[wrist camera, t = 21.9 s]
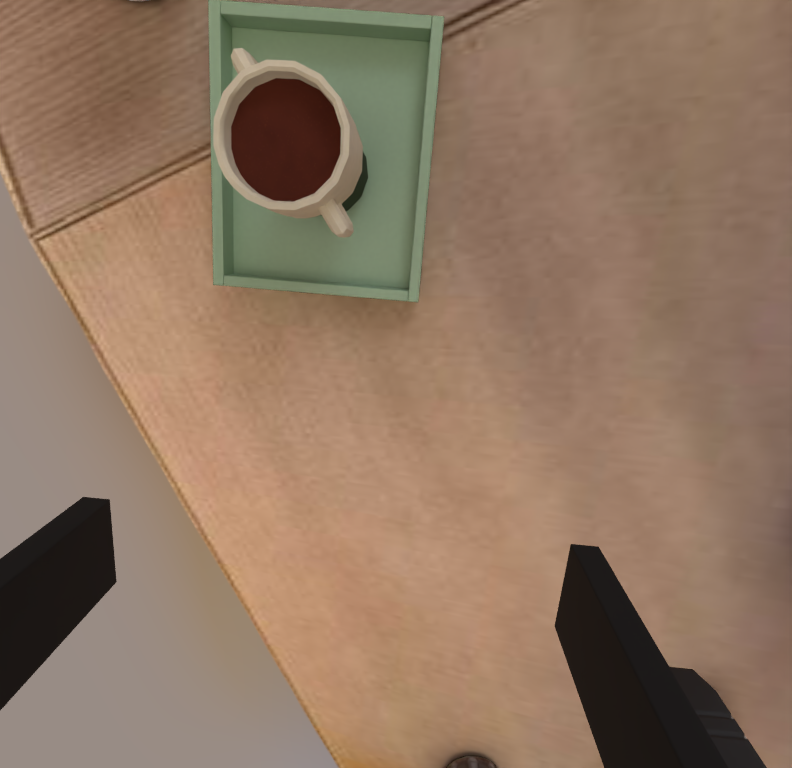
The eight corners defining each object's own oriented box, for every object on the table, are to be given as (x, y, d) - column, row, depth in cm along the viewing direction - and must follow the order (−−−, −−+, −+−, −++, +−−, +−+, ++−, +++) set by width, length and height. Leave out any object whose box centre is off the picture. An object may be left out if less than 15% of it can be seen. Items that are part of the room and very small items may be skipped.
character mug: (247, 131, 37) (159, 74, 25) (328, 75, 36) (278, -16, 23) (326, 262, 39) (282, 270, 27) (405, 213, 38) (397, 198, 26)
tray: (442, 34, 36) (444, 15, 33) (418, 298, 41) (418, 302, 38) (225, 18, 36) (207, -2, 33) (227, 282, 41) (213, 284, 38)
